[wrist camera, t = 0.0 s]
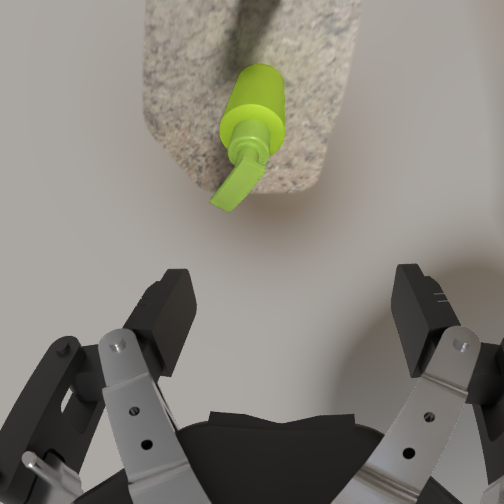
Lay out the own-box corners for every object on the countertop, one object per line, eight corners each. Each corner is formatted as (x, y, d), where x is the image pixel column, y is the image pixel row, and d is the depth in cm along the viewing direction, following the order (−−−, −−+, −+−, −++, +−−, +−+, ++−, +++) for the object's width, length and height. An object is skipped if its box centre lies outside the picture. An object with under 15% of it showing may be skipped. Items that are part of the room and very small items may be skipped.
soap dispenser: (224, 96, 36) (185, 196, 24) (253, 55, 32) (228, 130, 19) (262, 118, 39) (249, 227, 26) (293, 80, 34) (301, 173, 21)
